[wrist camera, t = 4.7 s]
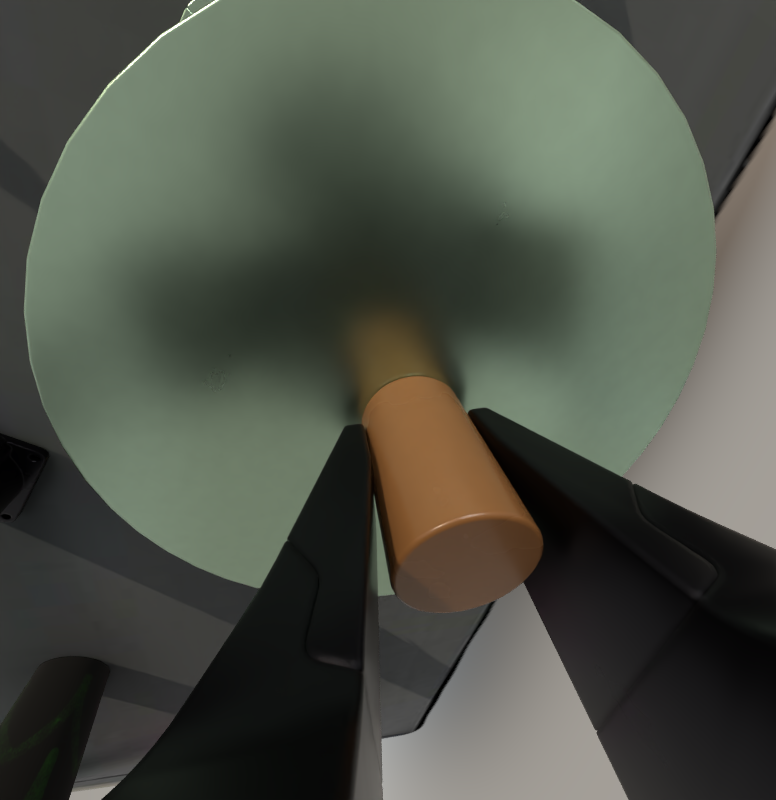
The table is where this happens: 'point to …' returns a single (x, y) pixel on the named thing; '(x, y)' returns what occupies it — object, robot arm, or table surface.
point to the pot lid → (367, 274)
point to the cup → (50, 729)
